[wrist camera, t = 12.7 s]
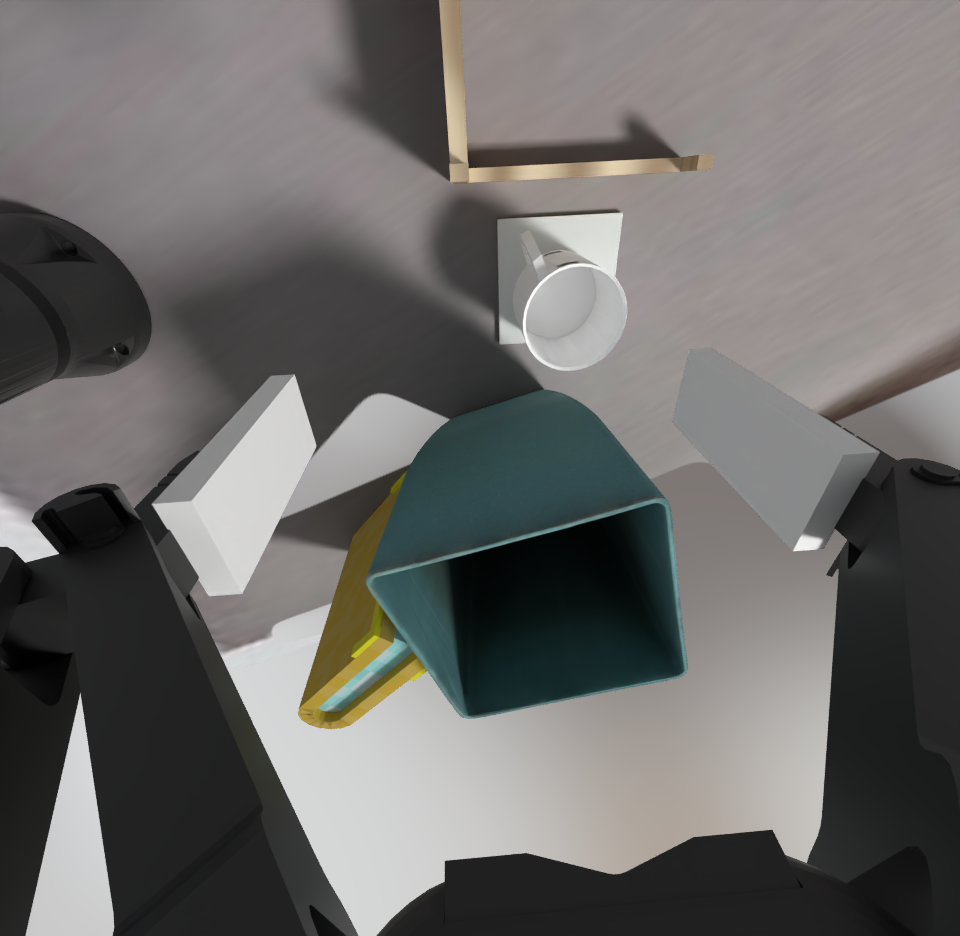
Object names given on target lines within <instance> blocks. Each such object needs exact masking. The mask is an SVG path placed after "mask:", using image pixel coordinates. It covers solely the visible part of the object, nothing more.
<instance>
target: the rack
mask: <svg viewBox="0 0 960 936" xmlns="http://www.w3.org/2000/svg"><path fill="white" fill-rule="evenodd" d="M439 6H440V21H441V36H442V51H443V65H444V80H445V95H446V110H447V125H448V140H449V155H450V164H449V168H450V182H451V183H453V184H458V183H477V182H496V181H516V180H535V179H554V178H573V177H592V176H611V175H630V174H649V173H668V172H685V171H698V170H711V168H712V163H713V159H714V154H707V155H695V156H688V157H678V158H659V159H639V160H620V161H601V162H582V163H563V164H544V165H524V166H505V167H486V168H469V164H468V156H467V135H466V114H465V94H464V73H463V52H462V31H461V11H460V0H439Z"/></svg>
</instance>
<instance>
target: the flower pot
mask: <svg viewBox="0 0 960 936" xmlns="http://www.w3.org/2000/svg"><path fill="white" fill-rule="evenodd" d="M366 585H367V587H368V589H369V591H370V592H371V594H372V595H373V597H374V598H375V600H376V601H377V602H378V604H379V605H380V606H381V608H382V609H383V610H384V612H385V613H386V614H387V616H388V617H389V618H390V620H391V621H392V622H393V624H394V625H395V627H396V628H397V629H398V631H399V632H400V634H401V635H402V636H403V638H404V639H405V641H406V642H407V643H408V645H409V646H410V648H411V649H412V650H413V652H414V653H415V655H416V656H417V657H418V659H419V660H420V661H421V663H422V664H423V665H424V667H425V668H426V670H427V671H428V673H429V674H430V675H431V677H432V678H433V680H434V681H435V682H436V684H437V685H438V687H439V688H440V690H441V691H442V692H443V694H444V695H445V697H446V698H447V699H448V701H449V702H450V704H451V705H452V706H453V708H454V709H455V710H456V712H457V713H458V714H459V715H460V716H461V717H463V718H468V719H470V718H480V717H486V716H491V715H496V714H501V713H505V712H510V711H515V710H520V709H524V708H530V707H534V706H540V705H544V704H549V703H554V702H559V701H564V700H569V699H574V698H579V697H585V696H590V695H595V694H600V693H605V692H610V691H614V690H620V689H624V688H630V687H636V686H641V685H647V684H652V683H657V682H662V681H667V680H672V679H676V678H679V677H681V676H683V675H684V674H685V673H686V672H687V669H688V663H687V655H686V648H685V641H684V632H683V624H682V615H681V606H680V596H679V585H678V575H677V565H676V555H675V545H674V535H673V524H672V514H671V507H670V504H669V502H668V501H667V499H666V498H665V497H664V495H662V493H661V492H660V491H659V490H658V488H657V487H656V486H655V485H654V484H653V482H652V481H651V480H650V479H649V478H648V476H647V475H646V474H645V473H644V472H643V470H642V469H641V468H640V467H639V466H638V464H637V463H636V462H635V461H634V460H633V458H632V457H631V456H630V455H629V453H628V452H627V451H626V450H625V449H624V447H623V446H622V445H621V444H620V443H619V441H618V440H617V439H616V438H615V437H614V435H613V434H612V433H611V432H610V430H609V429H608V428H607V427H606V426H605V424H604V423H603V422H602V421H601V420H600V418H599V417H598V416H597V415H596V414H595V413H593V412H592V411H591V410H590V409H589V408H587V407H586V406H584V405H583V404H582V403H580V402H578V401H577V400H575V399H573V398H571V397H569V396H567V395H565V394H562V393H559V392H556V391H550V390H538V391H535V392H532V393H529V394H526V395H522V396H519V397H516V398H513V399H510V400H507V401H504V402H500V403H497V404H494V405H491V406H488V407H485V408H481V409H478V410H475V411H472V412H469V413H466V414H462V415H459V416H456V417H454V418H452V419H451V420H449V421H448V422H447V423H445V424H444V425H443V426H441V427H440V428H439V429H438V430H437V431H436V432H435V433H434V434H433V435H432V436H431V437H430V438H429V440H428V441H427V442H426V443H425V444H424V445H423V447H422V448H421V449H420V451H419V452H418V453H417V455H416V457H415V458H414V460H413V462H412V464H411V465H410V467H409V469H408V471H407V473H406V474H405V477H404V480H403V482H402V485H401V487H400V490H399V493H398V495H397V498H396V500H395V503H394V506H393V508H392V511H391V514H390V516H389V519H388V522H387V524H386V527H385V529H384V532H383V535H382V537H381V540H380V543H379V545H378V548H377V550H376V553H375V555H374V558H373V561H372V563H371V566H370V568H369V571H368V574H367V577H366Z"/></svg>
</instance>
